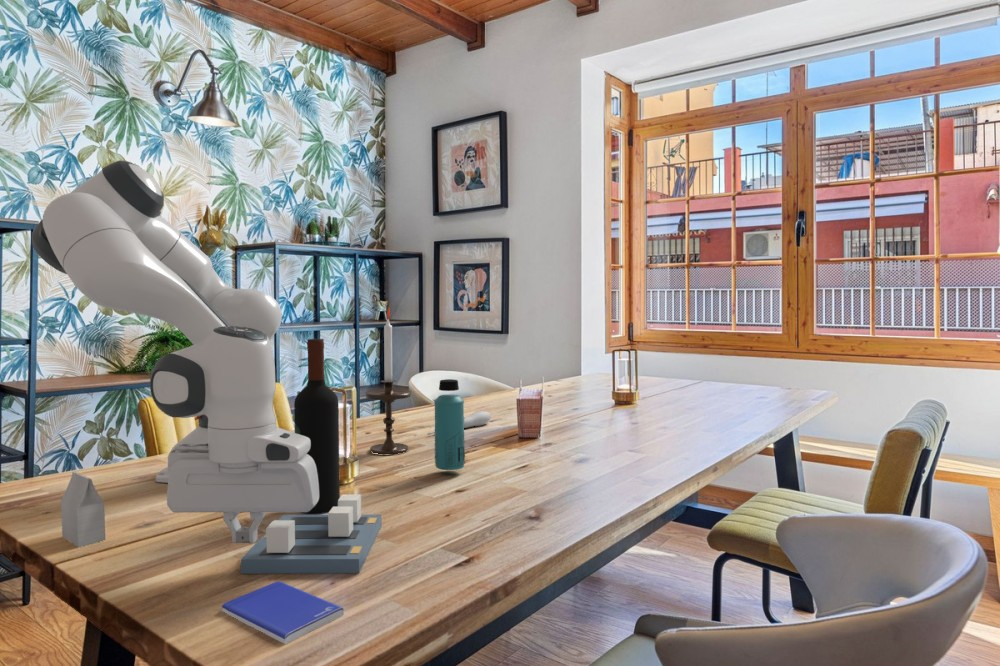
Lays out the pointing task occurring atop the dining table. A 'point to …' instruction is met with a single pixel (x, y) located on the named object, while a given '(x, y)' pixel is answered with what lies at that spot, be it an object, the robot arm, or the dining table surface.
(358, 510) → the tab
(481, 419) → the screwdriver
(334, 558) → the switch board
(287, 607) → the hard drive
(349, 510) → the tab
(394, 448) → the candlestick
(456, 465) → the beverage bottle
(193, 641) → the dining table surface
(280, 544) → the tab
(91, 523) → the grey gabled box
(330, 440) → the wine bottle
